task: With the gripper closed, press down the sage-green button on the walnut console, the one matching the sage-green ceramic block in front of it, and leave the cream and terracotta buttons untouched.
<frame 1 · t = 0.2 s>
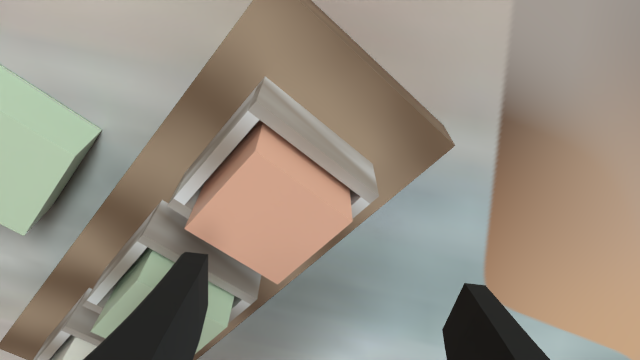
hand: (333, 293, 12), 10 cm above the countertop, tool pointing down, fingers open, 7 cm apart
terracotta button: (272, 201, 16), point 5 cm above the countertop, slide at 0.0 cm
sage button: (168, 302, 20), point 5 cm above the countertop, slide at 0.0 cm
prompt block: (15, 134, 20), on the countertop
button console: (193, 239, 23), on the countertop
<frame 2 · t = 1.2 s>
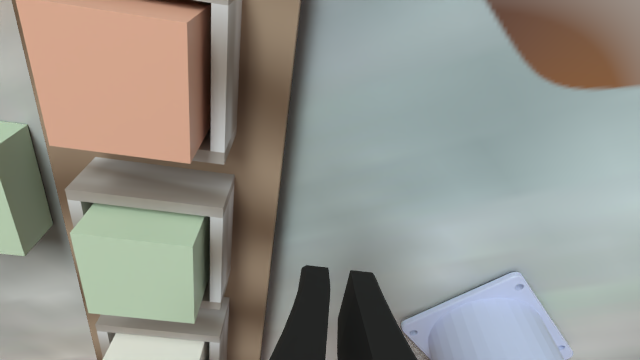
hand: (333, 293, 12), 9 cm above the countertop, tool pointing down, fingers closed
terracotta button: (132, 73, 13), point 4 cm above the countertop, slide at 0.0 cm
sage button: (150, 255, 17), point 5 cm above the countertop, slide at 0.0 cm
button console: (181, 195, 21), on the countertop
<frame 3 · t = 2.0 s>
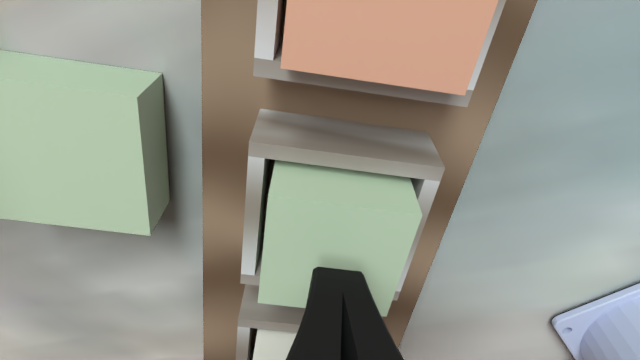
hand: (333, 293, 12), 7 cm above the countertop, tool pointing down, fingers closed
sage button: (332, 231, 14), point 4 cm above the countertop, slide at 0.0 cm
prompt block: (92, 133, 17), on the countertop
button console: (330, 164, 18), on the countertop
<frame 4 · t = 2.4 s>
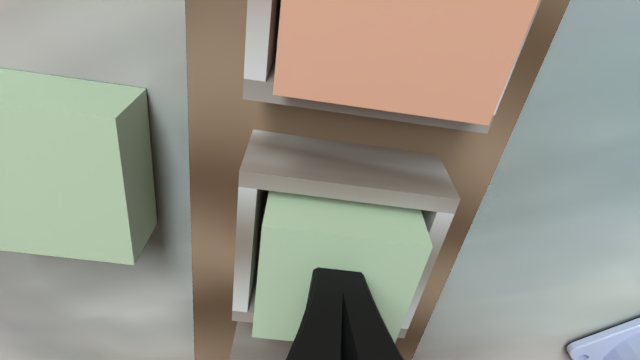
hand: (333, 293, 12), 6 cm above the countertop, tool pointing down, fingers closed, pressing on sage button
sage button: (333, 258, 13), point 4 cm above the countertop, slide at 0.4 cm, touching gripper
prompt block: (71, 152, 16), on the countertop
button console: (331, 185, 16), on the countertop
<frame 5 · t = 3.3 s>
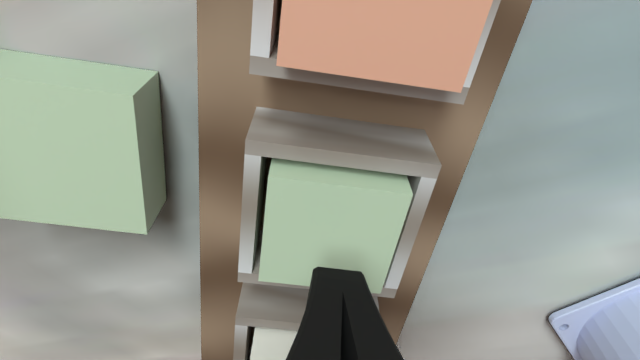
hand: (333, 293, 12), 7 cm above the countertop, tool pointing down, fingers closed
sage button: (329, 213, 15), point 4 cm above the countertop, slide at 0.9 cm
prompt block: (88, 131, 17), on the countertop
button console: (327, 162, 18), on the countertop
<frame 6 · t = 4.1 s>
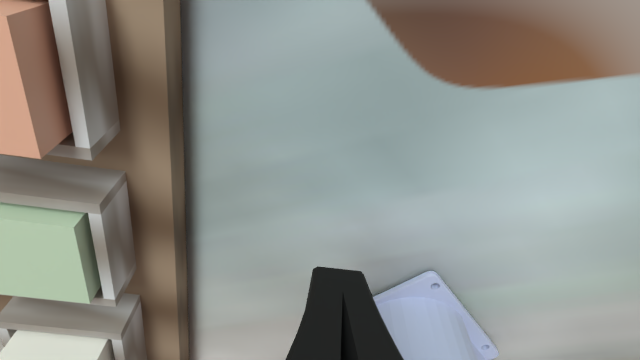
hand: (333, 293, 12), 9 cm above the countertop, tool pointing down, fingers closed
sage button: (47, 238, 18), point 4 cm above the countertop, slide at 0.9 cm
button console: (87, 192, 21), on the countertop
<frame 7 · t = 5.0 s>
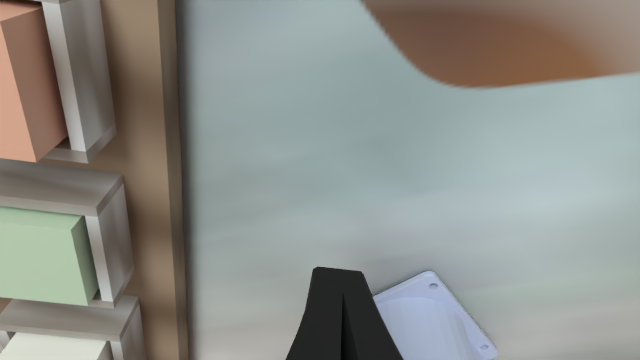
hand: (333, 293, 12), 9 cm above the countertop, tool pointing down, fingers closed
sage button: (45, 240, 18), point 4 cm above the countertop, slide at 0.9 cm
button console: (85, 194, 21), on the countertop
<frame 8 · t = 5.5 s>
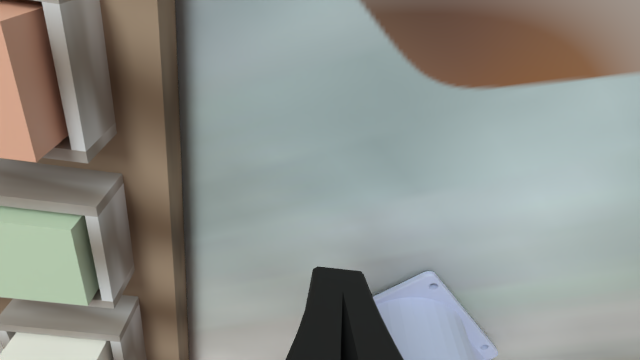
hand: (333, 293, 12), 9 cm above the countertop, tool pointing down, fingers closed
sage button: (45, 240, 18), point 4 cm above the countertop, slide at 0.9 cm
button console: (85, 194, 21), on the countertop
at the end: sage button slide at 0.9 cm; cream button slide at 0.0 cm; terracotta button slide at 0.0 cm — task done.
